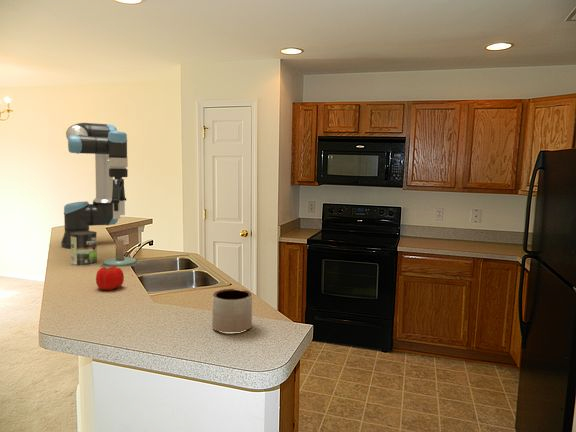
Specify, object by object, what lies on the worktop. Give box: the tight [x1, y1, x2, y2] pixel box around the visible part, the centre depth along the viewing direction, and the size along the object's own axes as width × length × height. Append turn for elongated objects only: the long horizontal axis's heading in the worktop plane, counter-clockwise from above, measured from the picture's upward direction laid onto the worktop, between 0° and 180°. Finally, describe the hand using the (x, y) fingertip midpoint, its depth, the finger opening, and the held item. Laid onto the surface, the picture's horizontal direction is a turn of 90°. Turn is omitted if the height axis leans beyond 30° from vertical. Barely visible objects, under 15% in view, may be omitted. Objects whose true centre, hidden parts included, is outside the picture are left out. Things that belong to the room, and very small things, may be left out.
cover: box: [103, 238, 137, 267], centre depth 184 cm, size 13×13×10 cm
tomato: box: [95, 266, 125, 291], centre depth 148 cm, size 9×9×8 cm
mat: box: [99, 258, 139, 268], centre depth 185 cm, size 14×14×1 cm
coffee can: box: [70, 230, 98, 267], centre depth 182 cm, size 10×10×14 cm
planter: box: [211, 288, 253, 332], centre depth 115 cm, size 11×11×10 cm
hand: (119, 217), depth 182 cm, fingers open, 13 cm apart
